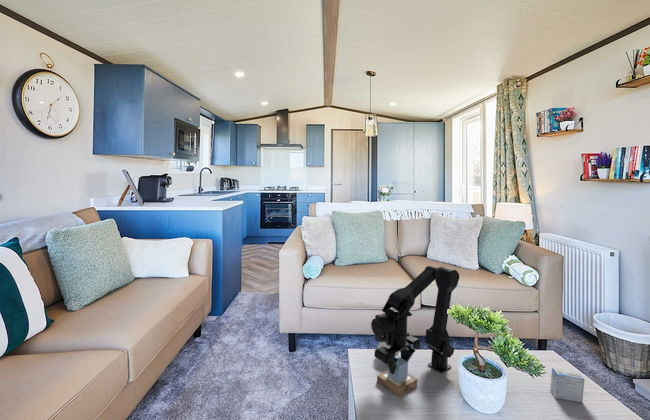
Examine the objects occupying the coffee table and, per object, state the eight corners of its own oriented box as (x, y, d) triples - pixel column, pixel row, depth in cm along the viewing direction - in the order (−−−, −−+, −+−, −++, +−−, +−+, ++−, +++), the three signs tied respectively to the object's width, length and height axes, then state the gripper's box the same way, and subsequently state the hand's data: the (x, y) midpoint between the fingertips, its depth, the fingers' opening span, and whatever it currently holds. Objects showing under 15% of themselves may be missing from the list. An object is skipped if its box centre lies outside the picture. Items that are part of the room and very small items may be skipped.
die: (394, 369, 123) (406, 345, 126) (374, 356, 125) (386, 333, 127) (389, 364, 132) (401, 342, 134) (371, 352, 133) (382, 331, 135)
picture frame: (395, 372, 120) (395, 365, 120) (417, 385, 112) (417, 378, 112) (377, 381, 114) (377, 375, 114) (398, 396, 106) (399, 389, 106)
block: (396, 371, 117) (397, 355, 116) (407, 377, 113) (408, 361, 112) (387, 376, 114) (387, 360, 113) (398, 383, 110) (398, 366, 109)
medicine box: (576, 395, 108) (578, 371, 107) (582, 403, 104) (585, 378, 103) (549, 390, 110) (551, 367, 110) (555, 398, 106) (556, 374, 105)
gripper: (398, 314, 124) (396, 352, 125) (363, 327, 112) (362, 369, 114) (422, 325, 115) (420, 365, 116) (387, 340, 103) (386, 385, 105)
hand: (397, 370), depth 113 cm, fingers open, 6 cm apart
